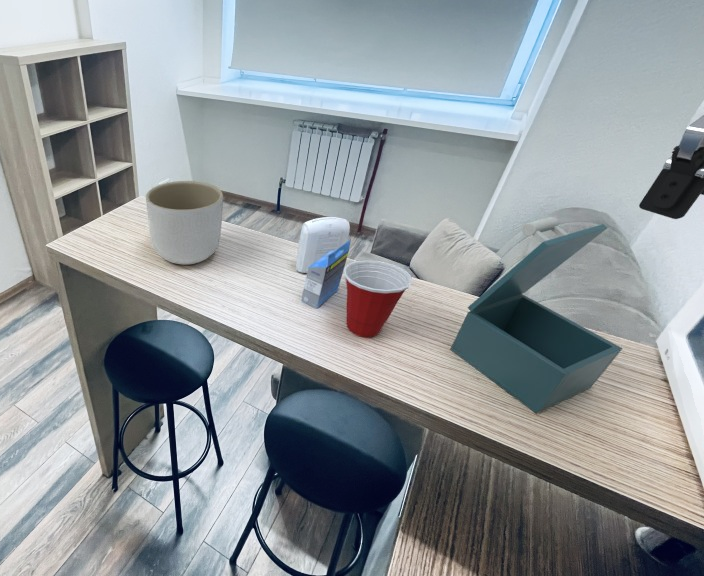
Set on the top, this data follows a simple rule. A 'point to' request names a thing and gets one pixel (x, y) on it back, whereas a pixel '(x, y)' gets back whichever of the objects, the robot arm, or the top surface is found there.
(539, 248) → the lid
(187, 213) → the planter
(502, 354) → the chest
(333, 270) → the label tape box
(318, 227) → the photo printer
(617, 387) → the top surface
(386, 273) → the plastic cup
